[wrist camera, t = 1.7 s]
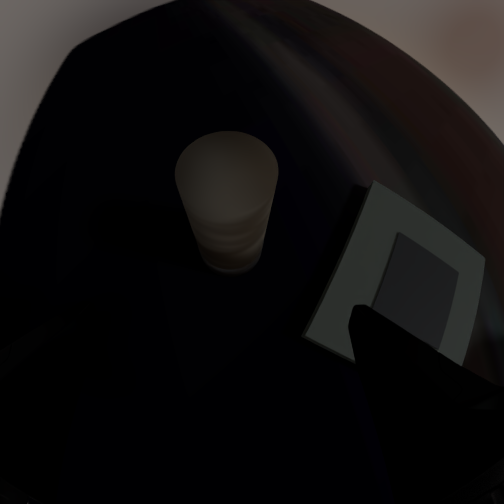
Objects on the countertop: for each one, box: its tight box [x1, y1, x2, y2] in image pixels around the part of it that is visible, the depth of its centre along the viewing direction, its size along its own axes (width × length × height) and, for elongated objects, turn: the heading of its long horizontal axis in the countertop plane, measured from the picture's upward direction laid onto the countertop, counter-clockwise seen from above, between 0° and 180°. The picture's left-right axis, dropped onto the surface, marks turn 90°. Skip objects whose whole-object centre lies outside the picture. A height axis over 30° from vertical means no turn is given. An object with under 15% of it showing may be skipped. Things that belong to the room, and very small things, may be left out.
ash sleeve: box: [175, 131, 278, 277], centre depth 18 cm, size 5×5×11 cm
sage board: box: [301, 180, 485, 366], centre depth 22 cm, size 16×16×2 cm
